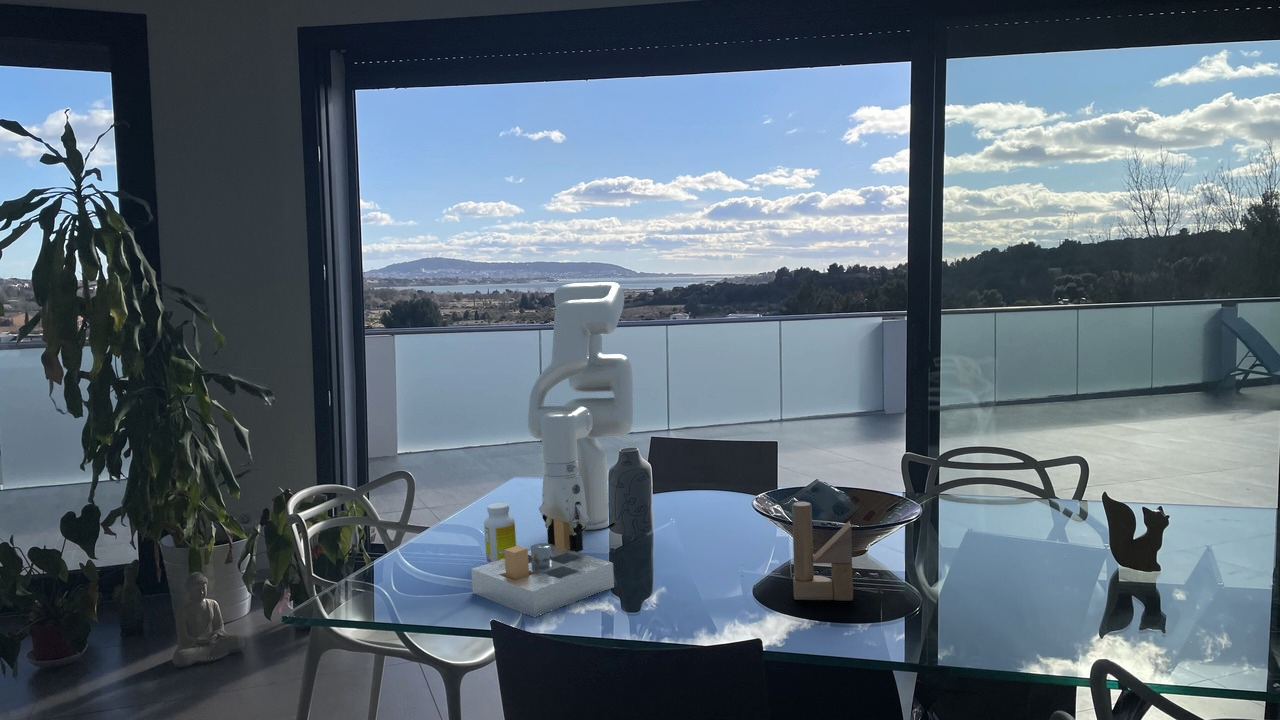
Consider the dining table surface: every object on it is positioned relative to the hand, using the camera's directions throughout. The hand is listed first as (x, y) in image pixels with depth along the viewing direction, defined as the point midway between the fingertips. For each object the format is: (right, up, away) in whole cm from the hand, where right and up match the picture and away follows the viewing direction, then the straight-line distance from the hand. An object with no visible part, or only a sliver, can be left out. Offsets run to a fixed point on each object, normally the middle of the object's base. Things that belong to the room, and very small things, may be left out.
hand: (565, 547), depth 197 cm
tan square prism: (0, -3, 0) cm, 3 cm away
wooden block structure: (+51, -4, -29) cm, 58 cm away
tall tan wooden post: (-7, -5, -22) cm, 24 cm away
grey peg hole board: (-3, -5, -18) cm, 19 cm away
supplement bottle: (-14, -4, +1) cm, 14 cm away
